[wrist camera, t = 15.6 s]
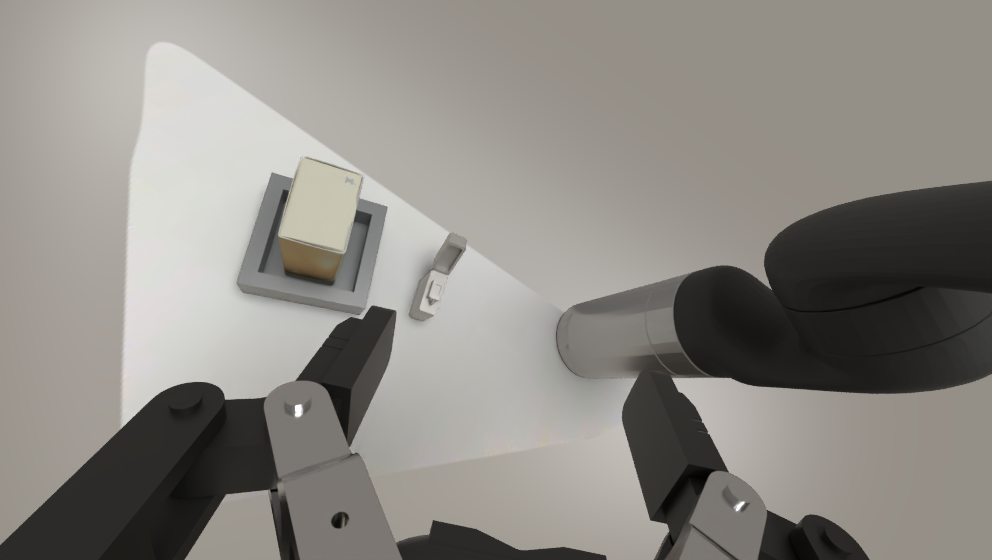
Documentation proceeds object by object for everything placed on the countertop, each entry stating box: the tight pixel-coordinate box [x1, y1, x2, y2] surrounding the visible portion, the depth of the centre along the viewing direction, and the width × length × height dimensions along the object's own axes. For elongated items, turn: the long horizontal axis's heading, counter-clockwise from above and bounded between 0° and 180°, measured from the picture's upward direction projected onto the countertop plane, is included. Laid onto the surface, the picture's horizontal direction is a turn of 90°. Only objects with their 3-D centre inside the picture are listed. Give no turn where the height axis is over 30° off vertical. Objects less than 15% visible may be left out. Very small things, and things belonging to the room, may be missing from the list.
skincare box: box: [278, 156, 364, 285], centre depth 33 cm, size 6×4×12 cm
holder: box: [236, 173, 387, 315], centre depth 37 cm, size 10×10×4 cm
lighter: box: [409, 233, 467, 321], centre depth 39 cm, size 7×2×8 cm, turn 165°
